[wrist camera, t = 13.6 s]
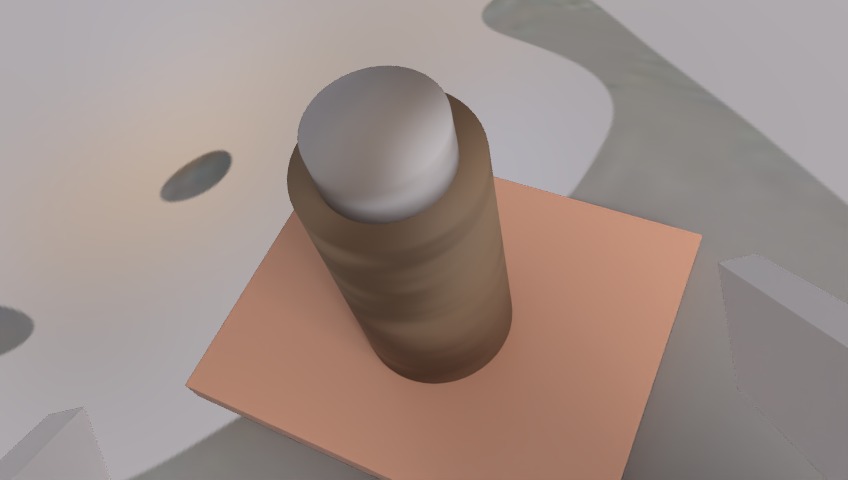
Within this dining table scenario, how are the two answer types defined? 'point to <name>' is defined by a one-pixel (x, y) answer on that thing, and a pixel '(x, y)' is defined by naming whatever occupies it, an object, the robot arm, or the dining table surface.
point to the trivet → (490, 386)
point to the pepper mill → (406, 219)
